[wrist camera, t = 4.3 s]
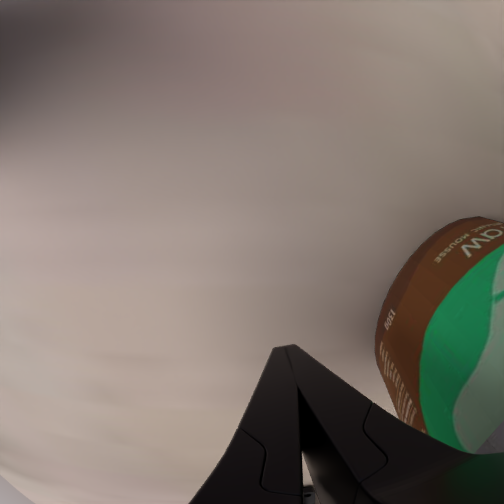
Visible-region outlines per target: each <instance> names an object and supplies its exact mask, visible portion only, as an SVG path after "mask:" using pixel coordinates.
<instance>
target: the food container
mask: <svg viewBox="0 0 504 504" xmlns="http://www.w3.org/2000/svg"><path fill="white" fill-rule="evenodd" d="M375 355H376V361H377V365H378V368H379V370H380V373H381V375H382V377H383V380H384V382H385V385H386V387H387V390H388V392H389V395H390V397H391V399H392V402H393V405H394V407H395V410H396V412H397V415H398V417H399V420H401V421H403V422H404V423H406V424H408V425H410V426H412V427H413V428H415V429H417V430H419V431H421V432H423V433H425V434H427V435H429V436H431V437H433V438H435V439H437V440H439V441H441V442H443V443H445V444H447V445H449V446H452V447H454V448H456V449H458V450H461V451H464V452H467V453H473V454H491V453H500V452H504V223H501V222H497V221H494V220H490V219H486V218H483V217H473V218H466V219H460V220H458V221H455V222H453V223H451V224H448V225H447V226H445V227H443V228H442V229H440V230H439V231H437V232H436V233H434V234H433V235H432V236H431V237H430V238H429V239H427V240H426V241H425V242H424V243H423V244H422V245H421V246H420V247H419V248H418V249H417V250H416V251H415V252H414V254H413V255H412V256H411V257H410V258H409V260H408V261H407V262H406V264H405V265H404V267H403V268H402V269H401V271H400V272H399V274H398V275H397V277H396V279H395V281H394V282H393V284H392V286H391V288H390V290H389V292H388V294H387V297H386V299H385V301H384V303H383V306H382V309H381V312H380V316H379V319H378V323H377V329H376V335H375Z"/></svg>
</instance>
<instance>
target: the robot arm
mask: <svg viewBox="0 0 504 504" xmlns="http://www.w3.org/2000/svg"><path fill="white" fill-rule="evenodd" d="M302 453H303V456H304V458H305V461H306V464H307V467H308V470H309V473H310V476H311V478H312V481H313V484H314V487H315V490H316V493H317V495H318V498H319V501H320V504H504V452H500V453H491V454H473V453H467V452H464V451H461V450H458V449H456V448H454V447H452V446H449V445H447V444H445V443H443V442H441V441H439V440H437V439H435V438H433V437H431V436H429V435H427V434H425V433H423V432H421V431H419V430H417V429H415V428H413V427H412V426H410V425H408V424H406V423H404V422H403V421H401V420H399V419H398V418H396V417H394V416H393V415H391V414H390V413H388V412H387V411H385V410H384V409H382V408H381V407H380V406H378V405H377V404H375V403H373V402H372V401H371V400H370V399H368V398H367V397H365V396H364V395H363V394H361V393H360V392H359V391H357V390H356V389H354V388H353V387H352V386H350V385H349V384H348V383H346V382H345V381H344V380H342V379H341V378H340V377H338V376H337V375H335V374H334V373H333V372H331V371H330V370H329V369H327V368H326V367H325V366H323V365H322V364H321V363H319V362H318V361H317V360H315V359H314V358H313V357H312V356H310V355H309V354H308V353H306V352H305V351H304V350H302V349H301V348H300V347H298V346H297V345H295V344H292V345H287V346H280V347H274V348H273V349H272V352H271V354H270V356H269V359H268V361H267V363H266V366H265V368H264V370H263V372H262V375H261V377H260V379H259V382H258V384H257V386H256V388H255V391H254V393H253V395H252V397H251V399H250V402H249V404H248V406H247V408H246V410H245V413H244V415H243V417H242V419H241V421H240V423H239V426H238V429H236V432H235V434H234V436H233V438H232V440H231V442H230V444H229V446H228V447H227V449H226V451H225V453H224V455H223V456H222V458H221V459H220V461H219V462H218V464H217V466H216V467H215V469H214V470H213V471H212V473H211V474H210V476H209V477H208V478H207V480H206V481H205V482H204V484H203V485H202V486H201V488H200V489H199V491H198V492H197V493H196V495H195V496H194V497H193V498H192V500H191V501H190V502H189V504H315V490H314V488H312V487H307V488H303V471H302Z"/></svg>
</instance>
